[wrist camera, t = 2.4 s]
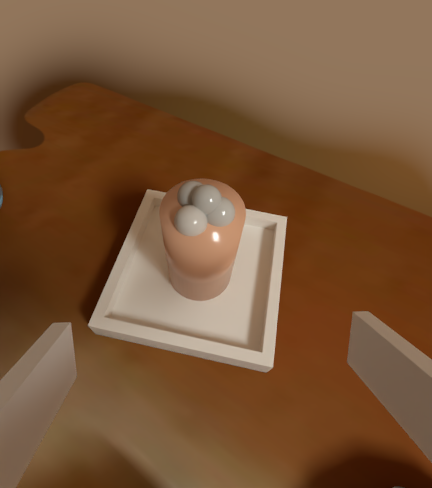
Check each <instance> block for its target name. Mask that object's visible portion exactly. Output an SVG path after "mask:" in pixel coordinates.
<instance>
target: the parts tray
mask: <svg viewBox="0 0 432 488" xmlns="http://www.w3.org/2000/svg"><path fill="white" fill-rule="evenodd" d="M165 194H166V193H164V192H159V191H154V190H149V189H147V191H146V194H145V196H144V198H143V200H142V203H141V205H140V207H139V210H138V212H137V214H136V216H135V219H134V221H133V223H132V226H131V228H130V230H129V232H128V235H127V237H126V239H125V241H124V244H123V246H122V248H121V251H120V253H119V255H118V257H117V260H116V262H115V264H114V267H113V269H112V271H111V273H110V276H109V278H108V280H107V283H106V285H105V287H104V289H103V292H102V294H101V296H100V299H99V301H98V303H97V305H96V308H95V310H94V312H93V315H92V317H91V319H90V321H89V324H88V327H89V328H90V329H91V330H92V331H93V332H94V333H95V334H99V335H103V336H107V337H112V338H116V339H121V340H125V341H130V342H134V343H138V344H143V345H147V346H152V347H156V348H160V349H165V350H169V351H174V352H178V353H182V354H187V355H191V356H196V357H200V358H204V359H209V360H213V361H218V362H222V363H226V364H231V365H235V366H240V367H244V368H248V369H253V370H257V371H262V372H266V373H267V372H268V371H269V370H271V369H272V368H273V362H274V351H275V340H276V330H277V319H278V308H279V297H280V287H281V276H282V265H283V254H284V244H285V233H286V222H287V217H284V216H279V215H274V214H269V213H264V212H259V211H254V210H249V209H246V219H245V223H244V227H243V231H242V235H241V239H240V243H239V247H238V251H237V255H236V259H235V263H234V267H233V270H232V274H231V278H230V282H229V284H228V286H227V288H226V289H225V290H224V291H223V292H222V293H221V294H220V295H218V296H217V297H215V298H213V299H210V300H205V301H195V300H190V299H187V298H185V297H183V296H181V295H180V294H179V293H177V291H176V290H175V289H174V288H173V287H172V285H171V283H170V280H169V275H168V269H167V262H166V255H165V249H164V242H163V235H162V229H161V222H160V215H159V209H160V204H161V201H162V199H163V197H164V196H165Z"/></svg>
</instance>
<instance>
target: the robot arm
mask: <svg viewBox="0 0 432 488" xmlns="http://www.w3.org/2000/svg"><path fill="white" fill-rule="evenodd" d="M2 202H3V191H2V188H1V185H0V208H1V205H2ZM347 363H348V364H349V365H350V366H351V368H352V369H353V370H354V371H355V372H356V374H357V375H358V376H359V377H360V378H361V379H362V381H363V382H364V383H365V384H366V385H367V387H368V388H369V389H370V390H371V391H372V392H373V394H374V395H375V396H376V397H377V398H378V400H379V401H380V402H381V403H382V404H383V405H384V407H385V408H386V409H387V410H388V411H389V413H390V414H391V415H392V416H393V417H394V419H395V420H396V421H397V422H398V423H399V424H400V426H401V427H402V428H403V429H404V430H405V432H406V433H407V434H408V435H409V436H410V437H411V439H412V440H413V441H414V442H415V443H416V445H417V446H418V447H419V448H420V449H421V450H422V452H423V453H424V454H425V455H426V456H427V458H428V459H429V460H430V461H431V462H432V360H431V359H430V358H429V357H427V356H426V355H425V354H423V353H422V352H421V351H420V350H418V349H417V348H416V347H414V346H413V345H412V344H410V343H409V342H408V341H406V340H405V339H404V338H402V337H401V336H400V335H399V334H397V333H396V332H395V331H393V330H392V329H391V328H389V327H388V326H387V325H385V324H384V323H383V322H381V321H380V320H379V319H378V318H376V317H375V316H374V315H372V314H371V313H370V312H368V311H363V312H353V316H352V324H351V333H350V342H349V350H348V359H347ZM76 377H77V373H76V364H75V355H74V346H73V337H72V328H71V322H65V323H52V324H51V325H50V327H49V328H48V329H47V330H46V331H45V332H44V333H43V334H42V335H41V336H40V338H39V339H38V340H37V341H36V342H35V343H34V344H33V345H32V346H31V347H30V349H29V350H28V351H27V352H26V353H25V354H24V355H23V356H22V357H21V358H20V360H19V361H18V362H17V363H16V364H15V365H14V366H13V367H12V368H11V369H10V370H9V372H8V373H7V374H6V375H5V376H4V377H3V378H2V379H1V380H0V488H16V486H17V485H18V483H19V481H20V479H21V477H22V476H23V474H24V472H25V470H26V468H27V466H28V465H29V463H30V461H31V459H32V457H33V456H34V454H35V452H36V450H37V448H38V446H39V445H40V443H41V441H42V439H43V437H44V436H45V434H46V432H47V430H48V428H49V426H50V425H51V423H52V421H53V419H54V417H55V416H56V414H57V412H58V410H59V408H60V406H61V405H62V403H63V401H64V399H65V397H66V396H67V394H68V392H69V390H70V388H71V386H72V385H73V383H74V381H75V379H76Z"/></svg>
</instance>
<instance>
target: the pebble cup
mask: <svg viewBox="0 0 432 488" xmlns="http://www.w3.org/2000/svg"><path fill="white" fill-rule="evenodd" d="M159 215H160V222H161V229H162V235H163V242H164V249H165V255H166V262H167V269H168V275H169V280H170V283H171V285H172V287H173V288H174V289H175V290H176V291H177V293H179V294H180V295H181V296H183V297H185V298H187V299H190V300H195V301H205V300H210V299H213V298H215V297H217V296H218V295H220V294H221V293H222V292H223V291H224V290H225V289H226V288H227V286H228V284H229V282H230V278H231V274H232V270H233V267H234V263H235V259H236V255H237V251H238V247H239V243H240V239H241V235H242V231H243V227H244V223H245V219H246V209H245V205H244V203H243V201H242V199H241V197H240V196H239V195H238V193H237V192H236V191H235V190H233V189H232V188H231V187H229V186H228V185H226V184H224V183H221V182H219V181H215V180H211V179H192V180H187V181H184V182H181V183H179V184H177V185H176V186H174V187H173V188H171V189H170V190H169V191H168V192H167V193H166V194H165V196H164V197H163V199H162V201H161V204H160V209H159Z"/></svg>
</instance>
